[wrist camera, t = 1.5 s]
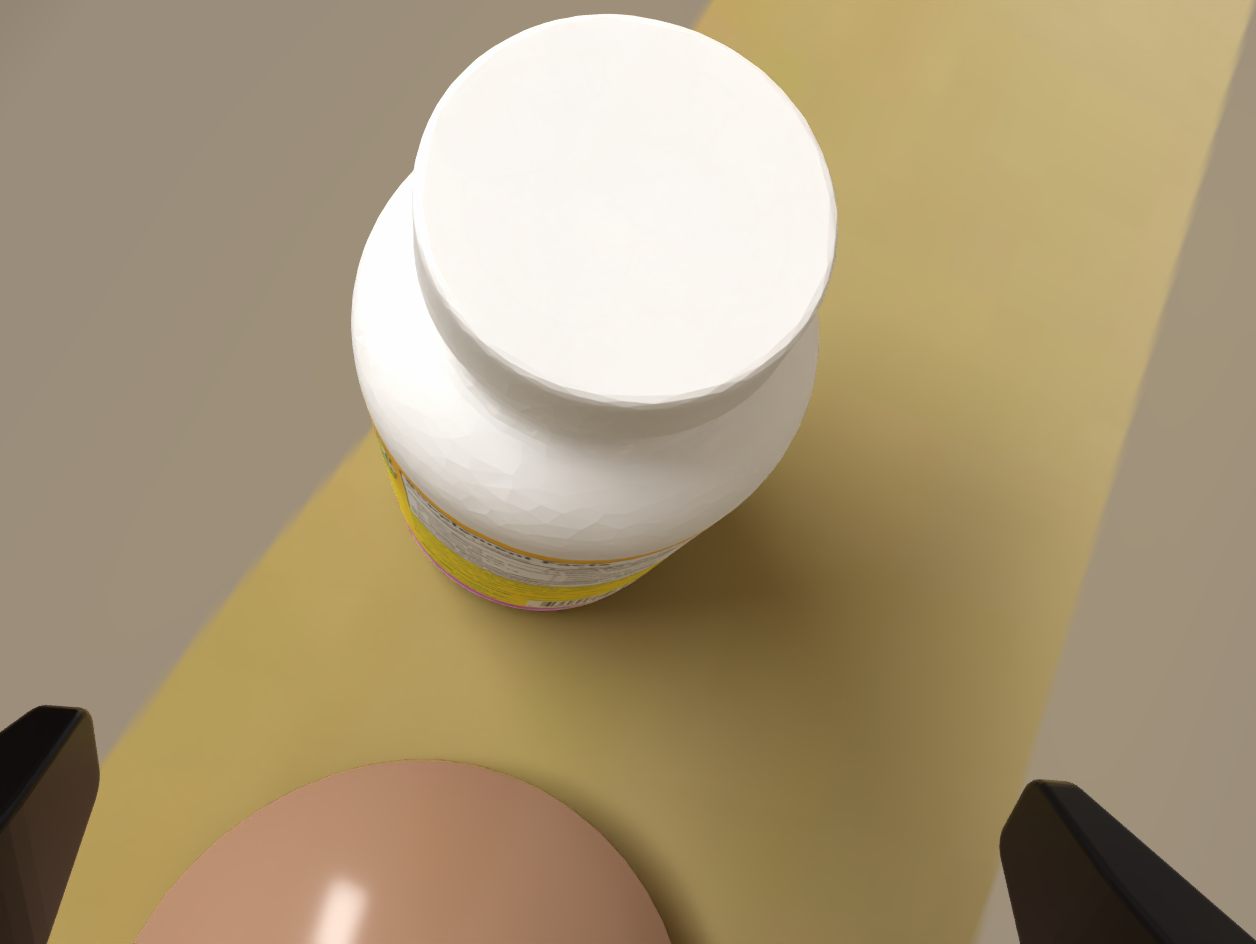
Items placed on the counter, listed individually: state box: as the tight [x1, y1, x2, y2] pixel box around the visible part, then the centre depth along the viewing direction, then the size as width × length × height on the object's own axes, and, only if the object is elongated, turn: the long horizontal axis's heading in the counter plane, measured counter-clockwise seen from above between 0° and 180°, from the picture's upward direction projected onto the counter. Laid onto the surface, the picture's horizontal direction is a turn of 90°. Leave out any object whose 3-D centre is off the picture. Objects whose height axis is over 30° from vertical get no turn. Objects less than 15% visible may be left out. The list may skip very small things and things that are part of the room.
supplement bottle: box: [351, 14, 838, 611], centre depth 17 cm, size 7×7×13 cm
